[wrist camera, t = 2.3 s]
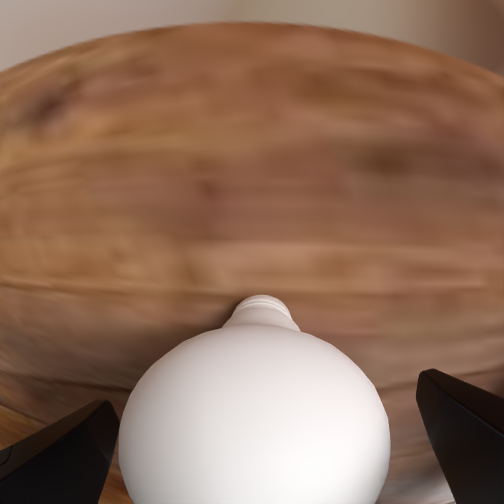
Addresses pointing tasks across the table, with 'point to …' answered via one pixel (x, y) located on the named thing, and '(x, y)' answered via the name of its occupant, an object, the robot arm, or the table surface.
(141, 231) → the table surface
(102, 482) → the robot arm
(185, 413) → the lightbulb
